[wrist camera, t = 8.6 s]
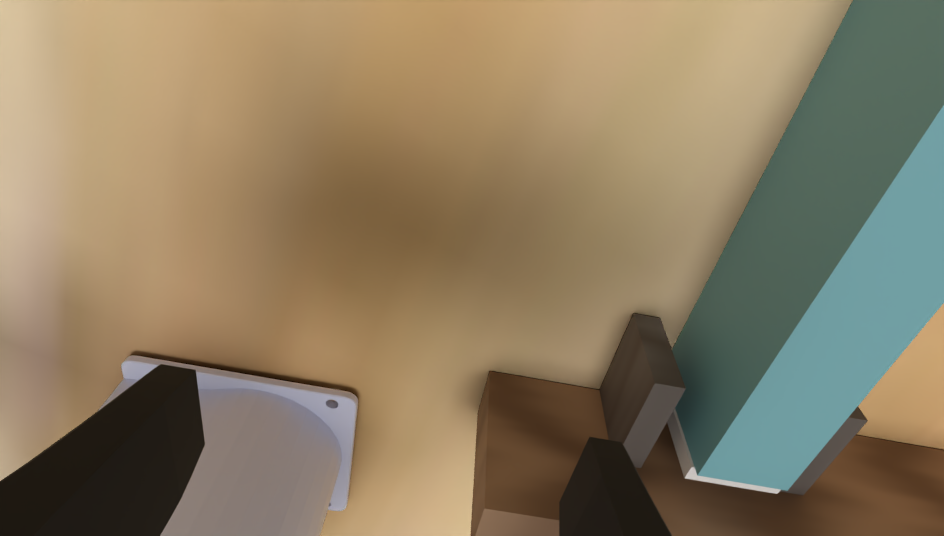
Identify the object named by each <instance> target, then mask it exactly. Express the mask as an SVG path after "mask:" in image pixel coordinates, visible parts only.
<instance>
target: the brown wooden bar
mask: <svg viewBox="0 0 944 536" xmlns="http://www.w3.org/2000/svg"><path fill="white" fill-rule="evenodd" d="M685 389H686V387H685V385H684V382H683V379H682V377H681V374H680V371H679V368H678V366H677V363H676V360H675V357H674V355H673V352H672V349H671V347H670V344H669V341H668V338H667V336H666V333H665V330H664V327H663V325H662V322H661V319H660V318H656V317H651V316H645V315H640V314H634V313H633V316H632V318H631V320H630V322H629V325H628V327H627V329H626V331H625V334H624V336H623V338H622V340H621V343H620V345H619V347H618V349H617V352H616V354H615V356H614V358H613V361H612V363H611V365H610V367H609V370H608V372H607V374H606V376H605V379H604V381H603V383H602V385H601V388H600V390H596V389H590V388H584V387H579V386H573V385H567V384H561V383H556V382H550V381H544V380H539V379H533V378H527V377H521V376H516V375H510V374H504V373H499V372H493V371H489V375H488V379H487V382H486V386H485V389H484V393H483V396H482V400H481V404H480V407H479V411H478V418H477V435H476V452H475V469H474V487H473V504H472V521H471V536H559V502H560V499H561V497H562V495H563V493H564V491H565V489H566V486H567V484H568V482H569V480H570V478H571V476H572V473H573V471H574V469H575V467H576V465H577V463H578V460H579V458H580V456H581V454H582V452H583V450H584V447H585V445H586V443H587V441H588V439H589V437H594V438H600V439H606V440H612V441H618V442H622V444H623V445H624V447H625V449H626V450H627V452H628V454H629V456H630V458H631V460H632V462H633V464H634V466H635V468H636V470H637V472H638V474H639V475H640V477H641V479H642V481H643V483H644V485H645V487H646V489H647V491H648V493H649V494H650V496H651V498H652V500H653V502H654V504H655V506H656V507H657V509H658V511H659V513H660V515H661V517H662V518H663V520H664V522H665V524H666V526H667V527H668V529H669V531H670V533H671V535H672V536H944V450H939V449H933V448H927V447H922V446H916V445H910V444H904V443H899V442H893V441H887V440H882V439H876V438H870V437H864V436H859V435H856V434H857V433H858V431H859V430H860V429H861V428H862V427H863V426H864V424H865V423H866V422H867V421H868V420H867V419H866V418H865V416H864V415H863V413H862V412H861V410H860V409H859V407H858V406H857V408H856V409H855V410H854V411H853V412H852V414H851V415H850V416H849V417H848V418H847V420H846V421H845V422H844V423H843V424H842V426H841V427H840V428H839V429H838V430H837V432H836V433H835V434H834V435H833V437H832V438H831V439H830V440H829V441H828V443H827V444H826V445H825V446H824V447H823V449H822V450H821V451H820V452H819V453H818V455H817V456H816V457H815V458H814V459H813V461H812V462H811V463H810V464H809V465H808V467H807V468H806V469H805V470H804V471H803V473H802V474H801V475H800V476H799V477H798V479H797V480H796V481H795V482H794V483H793V485H792V486H791V487H790V488H789V489H788V491H786V490H780V492H779V493H778V494H774V493H768V492H763V491H757V490H751V489H745V488H739V487H733V486H727V485H721V484H715V483H709V482H703V481H697V480H691V479H685V478H684V476H683V472H682V469H681V466H680V463H679V459H678V456H677V453H676V450H675V446H674V443H673V440H672V437H671V433H670V430H669V427H668V423H667V421H668V419H669V418H670V416H671V414H672V412H673V411H674V409H675V407H676V405H677V404H678V402H679V400H680V398H681V396H682V395H683V393H684V391H685Z"/></svg>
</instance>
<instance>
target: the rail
mask: <svg viewBox="0 0 944 536" xmlns="http://www.w3.org/2000/svg"><path fill="white" fill-rule="evenodd" d="M943 303H944V0H853V1H852V3H851V5H850V7H849V9H848V11H847V13H846V15H845V17H844V19H843V21H842V23H841V25H840V27H839V28H838V30H837V32H836V34H835V36H834V38H833V40H832V42H831V44H830V46H829V48H828V50H827V52H826V54H825V55H824V57H823V59H822V61H821V63H820V65H819V67H818V69H817V71H816V73H815V75H814V77H813V79H812V81H811V82H810V84H809V86H808V88H807V90H806V92H805V94H804V96H803V98H802V100H801V102H800V104H799V106H798V108H797V109H796V111H795V113H794V115H793V117H792V119H791V121H790V123H789V125H788V127H787V129H786V131H785V133H784V135H783V136H782V138H781V140H780V142H779V144H778V146H777V148H776V150H775V152H774V154H773V156H772V158H771V160H770V162H769V164H768V165H767V167H766V169H765V171H764V173H763V175H762V177H761V179H760V181H759V183H758V185H757V187H756V189H755V191H754V192H753V194H752V196H751V198H750V200H749V202H748V204H747V206H746V208H745V210H744V212H743V214H742V216H741V218H740V219H739V221H738V223H737V225H736V227H735V229H734V231H733V233H732V235H731V237H730V239H729V241H728V243H727V245H726V246H725V248H724V250H723V252H722V254H721V256H720V258H719V260H718V262H717V264H716V266H715V268H714V270H713V272H712V273H711V275H710V277H709V279H708V281H707V283H706V285H705V287H704V289H703V291H702V293H701V295H700V297H699V299H698V300H697V302H696V304H695V306H694V308H693V310H692V312H691V314H690V316H689V318H688V320H687V322H686V324H685V326H684V327H683V329H682V331H681V333H680V335H679V337H678V339H677V341H676V343H675V345H674V347H673V349H672V352H673V355H674V357H675V360H676V363H677V366H678V368H679V371H680V374H681V377H682V379H683V382H684V385H685V387H686V389H685V391H684V393H683V395H682V396H681V398H680V400H679V402H678V404H677V405H676V407H675V409H674V411H673V412H672V414H671V416H670V418H669V419H668V421H667V423H668V427H669V430H670V433H671V437H672V440H673V443H674V446H675V450H676V453H677V456H678V459H679V463H680V466H681V469H682V472H683V476H684V478H685V479H691V480H697V481H703V482H709V483H715V484H721V485H727V486H733V487H739V488H745V489H751V490H757V491H763V492H768V493H774V494H778V493H779V492H780V490H786V491H788V489H789V488H790V487H791V486H792V485H793V483H794V482H795V481H796V480H797V479H798V477H799V476H800V475H801V474H802V473H803V471H804V470H805V469H806V468H807V467H808V465H809V464H810V463H811V462H812V461H813V459H814V458H815V457H816V456H817V455H818V453H819V452H820V451H821V450H822V449H823V447H824V446H825V445H826V444H827V443H828V441H829V440H830V439H831V438H832V437H833V435H834V434H835V433H836V432H837V430H838V429H839V428H840V427H841V426H842V424H843V423H844V422H845V421H846V420H847V418H848V417H849V416H850V415H851V414H852V412H853V411H854V410H855V409H856V408H857V406H858V405H859V404H860V403H861V402H862V400H863V399H864V398H865V397H866V396H867V394H868V393H869V392H870V391H871V390H872V388H873V387H874V386H875V385H876V384H877V382H878V381H879V380H880V379H881V378H882V376H883V375H884V374H885V373H886V372H887V370H888V369H889V368H890V367H891V366H892V364H893V363H894V362H895V361H896V360H897V358H898V357H899V356H900V355H901V354H902V352H903V351H904V350H905V349H906V347H907V346H908V345H909V344H910V343H911V341H912V340H913V339H914V338H915V337H916V335H917V334H918V333H919V332H920V331H921V329H922V328H923V327H924V326H925V325H926V323H927V322H928V321H929V320H930V319H931V317H932V316H933V315H934V314H935V313H936V311H937V310H938V309H939V308H940V307H941V305H942V304H943Z"/></svg>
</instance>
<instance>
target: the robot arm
mask: <svg viewBox="0 0 944 536" xmlns="http://www.w3.org/2000/svg"><path fill="white" fill-rule="evenodd" d="M121 369H122V373H123V377H124V379H123V380H122V381H121V383H120V384H119V385H118V386H117V388H116V389H115V390H114V391H113V393H112V394H111V395H110V396H109V398H108V399H107V400H106V401H105V402H104V404H103V405H102V406H101V407H100V409H99V410H98V411H97V412H96V413H95V414H94V415H92V416H91V417H90V418H88V419H87V420H86V421H84V422H83V423H82V424H80V425H79V426H77V427H76V428H75V429H73V430H72V431H71V432H69V433H68V434H66V435H65V436H64V437H62V438H61V439H60V440H58V441H57V442H55V443H54V444H53V445H51V446H50V447H49V448H47V449H46V450H44V451H43V452H42V453H40V454H39V455H38V456H36V457H35V458H33V459H32V460H31V461H29V462H28V463H26V464H25V465H23V466H22V467H21V468H19V469H18V470H16V471H15V472H13V473H12V474H10V475H9V476H7V477H6V478H4V479H3V480H1V481H0V536H320V534H321V531H322V527H323V524H324V521H325V517H326V514H327V510H333V511H342V510H344V509H345V508H346V506H347V503H348V496H349V486H350V477H351V467H352V457H353V448H354V438H355V428H356V419H357V409H358V398H357V397H356V396H355V395H354V394H353V393H351V392H348V391H342V390H336V389H330V388H324V387H318V386H313V385H307V384H301V383H295V382H289V381H283V380H277V379H271V378H266V377H260V376H254V375H248V374H242V373H236V372H230V371H224V370H219V369H213V368H207V367H201V366H195V365H189V364H183V363H177V362H172V361H166V360H160V359H154V358H148V357H142V356H134V355H131V356H128V357H127V358H126V359H125V361H124V362H123V363H122V364H121ZM332 400H335V401H332ZM559 536H672V535H671V533H670V531H669V529H668V527H667V526H666V524H665V522H664V520H663V518H662V517H661V515H660V513H659V511H658V509H657V507H656V506H655V504H654V502H653V500H652V498H651V496H650V494H649V493H648V491H647V489H646V487H645V485H644V483H643V481H642V479H641V477H640V475H639V474H638V472H637V470H636V468H635V466H634V464H633V462H632V460H631V458H630V456H629V454H628V452H627V450H626V449H625V447H624V445H623V444H622V442H618V441H612V440H606V439H600V438H594V437H589V439H588V441H587V443H586V445H585V447H584V450H583V452H582V454H581V456H580V458H579V460H578V463H577V465H576V467H575V469H574V471H573V473H572V476H571V478H570V480H569V482H568V484H567V486H566V489H565V491H564V493H563V495H562V497H561V499H560V502H559Z"/></svg>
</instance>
